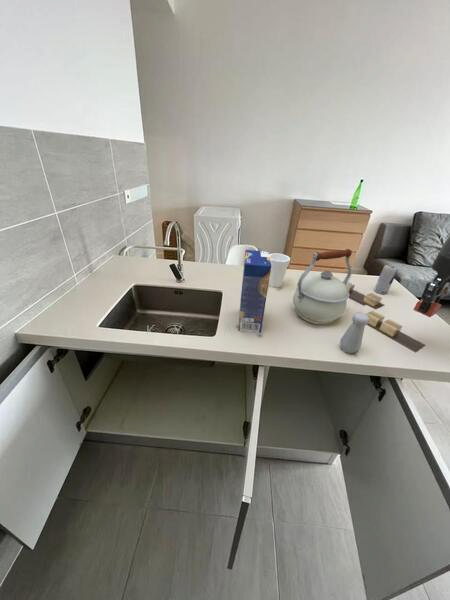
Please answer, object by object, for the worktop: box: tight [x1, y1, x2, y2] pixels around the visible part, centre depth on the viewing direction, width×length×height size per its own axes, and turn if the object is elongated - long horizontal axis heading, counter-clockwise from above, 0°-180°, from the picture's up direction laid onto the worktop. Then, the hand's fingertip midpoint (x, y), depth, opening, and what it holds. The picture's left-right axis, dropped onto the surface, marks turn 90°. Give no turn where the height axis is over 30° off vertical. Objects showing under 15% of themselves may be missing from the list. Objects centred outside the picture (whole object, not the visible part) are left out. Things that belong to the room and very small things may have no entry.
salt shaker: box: [339, 311, 369, 355], centre depth 72 cm, size 6×6×13 cm
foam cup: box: [268, 252, 291, 288], centre depth 108 cm, size 10×9×13 cm
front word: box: [365, 310, 427, 353], centre depth 83 cm, size 7×20×4 cm, turn 32°
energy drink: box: [374, 264, 399, 295], centre depth 107 cm, size 5×5×12 cm
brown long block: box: [345, 281, 386, 311], centre depth 103 cm, size 7×20×4 cm, turn 32°
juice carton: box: [237, 249, 271, 334], centre depth 79 cm, size 12×8×24 cm, turn 175°
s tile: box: [413, 299, 442, 318], centre depth 72 cm, size 4×4×3 cm
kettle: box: [292, 248, 354, 325], centre depth 86 cm, size 25×18×25 cm
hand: (426, 309), depth 73 cm, fingers closed on s tile, 4 cm apart
